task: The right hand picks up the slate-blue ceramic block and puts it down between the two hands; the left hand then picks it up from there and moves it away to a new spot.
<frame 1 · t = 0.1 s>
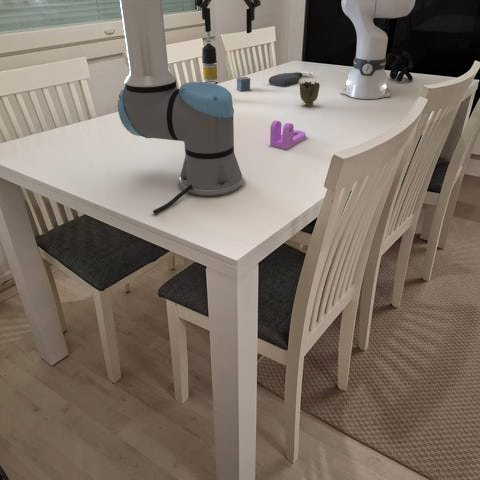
left hand: (228, 32, 139), 28 cm above the table, tool pointing down, fingers open, 13 cm apart
squiggle: (399, 80, 200), on the table
cup: (308, 106, 168), on the table
block: (243, 89, 191), on the table
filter: (211, 98, 179), on the table
bracket: (289, 141, 135), on the table
spray bottle: (292, 80, 203), on the table
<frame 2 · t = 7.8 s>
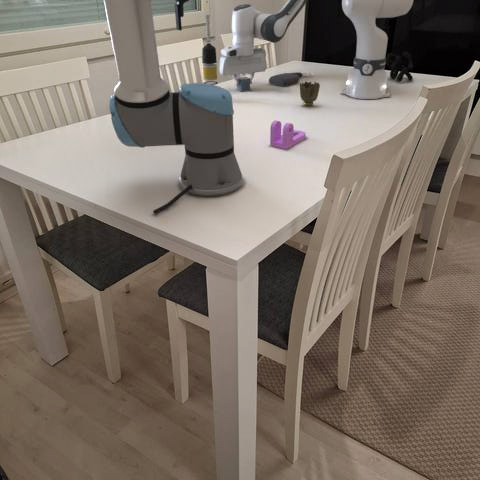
left hand: (156, 31, 127), 30 cm above the table, tool pointing down, fingers open, 13 cm apart
right hand: (243, 84, 189), 2 cm above the table, tool pointing down, fingers closed on block, 4 cm apart
block: (243, 89, 191), on the table, touching right hand
everything else where it was.
when the right hand's fingers open (3 cm above the table, at t = 25.1 s): block stays where it is, on the table.
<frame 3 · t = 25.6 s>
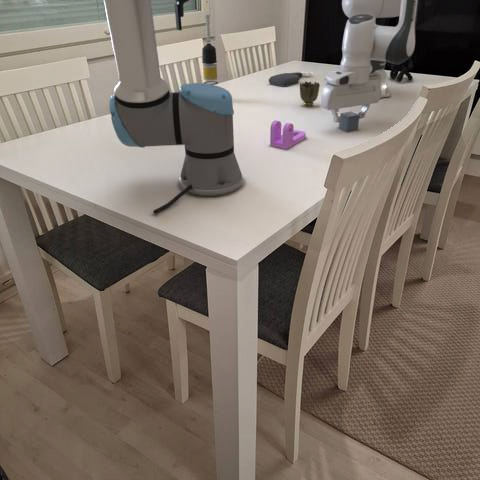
left hand: (156, 31, 127), 30 cm above the table, tool pointing down, fingers open, 13 cm apart
right hand: (349, 120, 143), 3 cm above the table, tool pointing down, fingers open, 8 cm apart
block: (348, 129, 144), on the table
everything else where it was.
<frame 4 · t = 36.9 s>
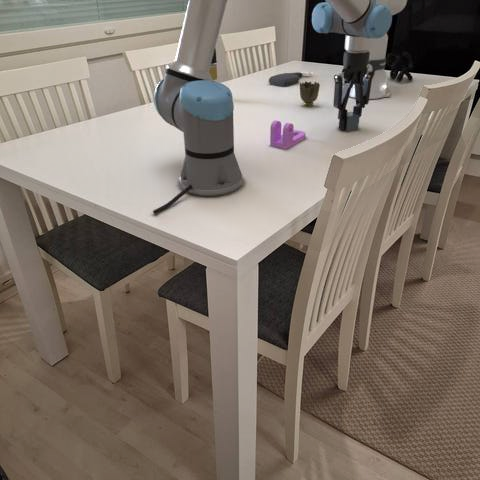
left hand: (348, 128, 144), 0 cm above the table, tool pointing down, fingers closed on block, 4 cm apart
block: (348, 129, 144), on the table, touching left hand
everything else where it was.
when the left hand's fingers open (1 cm above the table, at t = 50.4 s): block stays where it is, on the table.
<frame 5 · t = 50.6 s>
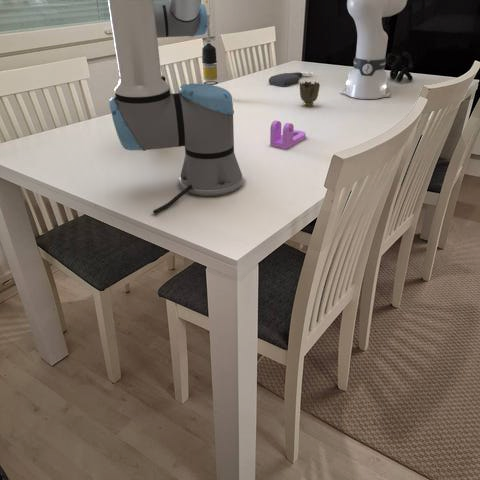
left hand: (149, 134, 140), 1 cm above the table, tool pointing down, fingers open, 7 cm apart
block: (149, 137, 140), on the table
everything else where it was.
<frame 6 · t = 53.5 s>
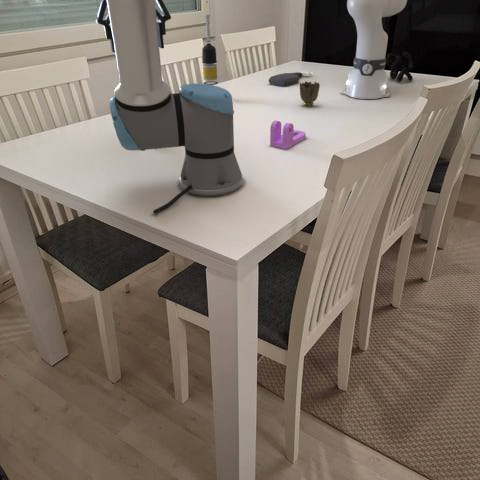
left hand: (138, 49, 126), 26 cm above the table, tool pointing down, fingers open, 13 cm apart
nothing on the table moved.
at the end: block inside the target area (0.0 cm from its centre), on the table; block tilted 0°; the two hands never held the block at the same time; the left hand is holding nothing; the right hand is holding nothing; block at rest at the end (0.0 cm/s) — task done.
